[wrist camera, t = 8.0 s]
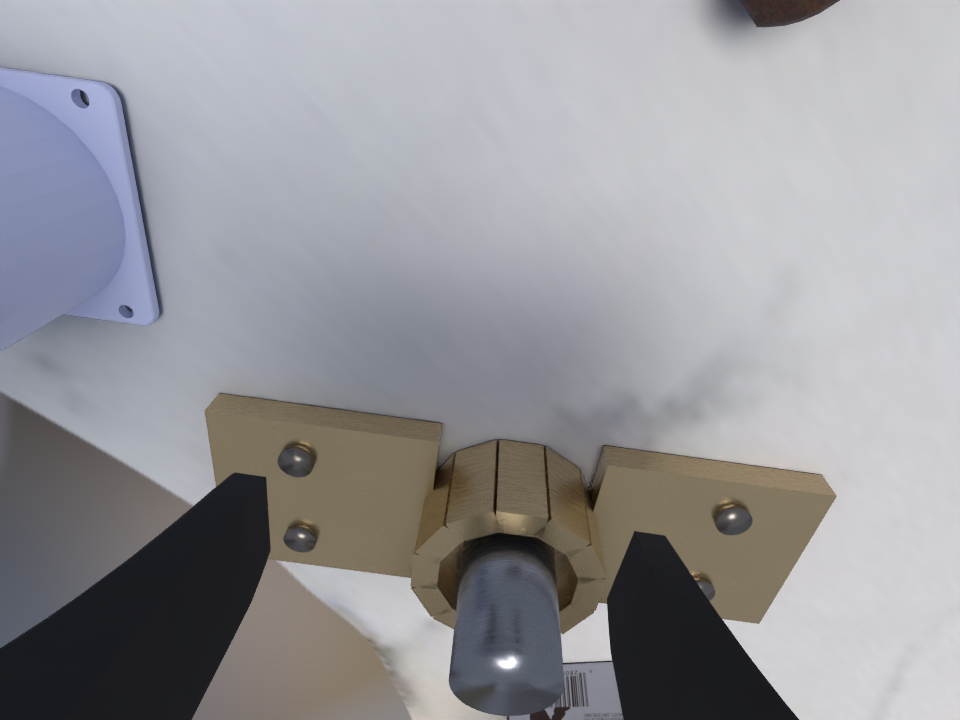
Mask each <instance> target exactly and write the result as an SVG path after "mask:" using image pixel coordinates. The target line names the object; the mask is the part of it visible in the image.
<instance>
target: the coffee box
mask: <svg viewBox="0 0 960 720" xmlns="http://www.w3.org/2000/svg"><path fill="white" fill-rule="evenodd" d="M563 673H564V690H563V693H562V695H561V697H560V698H559V699H558V700H557V701H556V702H555V703H554V704H553V705H551V706H550V707H548V708H546V709H544V710H542V711H539V712H536V713H532V714H527V715H520V716H507V720H623V715H622V709H621V704H620V699H619V694H618V688H617V683H616V678H615V672H614V667H613V662H598V663H579V664H563Z"/></svg>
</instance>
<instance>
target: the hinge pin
mask: <svg viewBox="0 0 960 720" xmlns="http://www.w3.org/2000/svg"><path fill="white" fill-rule="evenodd" d="M449 684H450V687H451V690H452V691H453V693H454V694H455V696H456V697H457V698H458V699H459V700H461V701H462V702H463V703H465V704H466V705H468V706H470V707H472V708H474V709H476V710H479V711H482V712H485V713H489V714H494V715H502V716H520V715H527V714H532V713H536V712H539V711H542V710H544V709H546V708H548V707H550V706H551V705H553V704H554V703H555V702H556V701H557V700H558V699H559V698H560V697H561V695H562V693H563V690H564V673H563V659H562V646H561V632H560V619H559V606H558V592H557V579H556V565H555V552H554V547H552V546H550V545H549V544H547V543H545V542H544V541H542V540H540V539H539V538H536V537H529V536H521V535H514V534H506V533H499V532H498V533H494V534H490V535H486V536H482V537H478V538H474V539H471V540H467V541H464V542H463V551H462V561H461V570H460V580H459V589H458V598H457V608H456V617H455V627H454V636H453V646H452V655H451V664H450V674H449Z"/></svg>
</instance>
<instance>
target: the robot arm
mask: <svg viewBox="0 0 960 720" xmlns="http://www.w3.org/2000/svg"><path fill="white" fill-rule="evenodd" d="M81 90H82V91H84V92H85V93H86V94H87V96H88V98H89V106H87V105H86V104H85V103H84V102H83V101H82V99H81V97H80V91H81ZM125 305H126V306H129V307H130V308H131V309H132V311H133V313H131V312H129V311H128V310H127V309H126V307H125ZM62 314H64V315H72V316H79V317H86V318H93V319H101V320H108V321H115V322H123V323H130V324H137V325H149V324H151V323H153V322H154V321H156V320H157V318H158V317H159V307H158V302H157V296H156V291H155V285H154V280H153V274H152V269H151V263H150V258H149V252H148V247H147V241H146V236H145V230H144V225H143V219H142V214H141V208H140V203H139V197H138V192H137V186H136V181H135V175H134V170H133V164H132V159H131V153H130V148H129V142H128V137H127V131H126V126H125V120H124V115H123V109H122V104H121V100H120V98H119V95H118V94H117V92H116V91H115V90H114V89H113V88H112V87H111V86H110V85H108V84H106V83H103V82H99V81H92V80H85V79H78V78H71V77H64V76H57V75H51V74H44V73H37V72H30V71H23V70H16V69H9V68H2V67H0V352H1V351H2V350H4V349H6V348H7V347H9V346H11V345H12V344H14V343H16V342H17V341H19V340H21V339H22V338H24V337H26V336H27V335H29V334H31V333H32V332H34V331H36V330H37V329H39V328H41V327H42V326H44V325H46V324H47V323H49V322H51V321H52V320H54V319H56V318H57V317H59V316H61V315H62ZM270 551H271V547H270V530H269V514H268V498H267V481H266V477H263V476H256V475H249V474H243V473H236V472H234V473H233V474H231V475H230V476H228V477H227V478H226V479H225V480H224V481H223V482H221V483H220V484H219V485H218V486H217V487H216V488H214V489H213V490H212V491H211V492H210V493H208V494H207V495H206V496H205V497H204V498H203V499H201V500H200V501H199V502H198V503H197V504H196V505H194V506H193V507H192V508H191V509H190V510H188V511H187V512H186V513H185V514H184V515H182V516H181V517H180V518H179V519H178V520H177V521H175V522H174V523H173V524H172V525H171V526H169V527H168V528H167V529H166V530H164V531H163V532H162V533H161V534H159V535H158V536H157V537H156V538H154V539H153V540H152V541H151V542H149V543H148V544H147V545H146V546H144V547H143V548H142V549H141V550H139V551H138V552H137V553H136V554H134V555H133V556H132V557H130V558H129V559H128V560H127V561H125V562H124V563H123V564H121V565H120V566H119V567H117V568H116V569H115V570H113V571H112V572H110V573H109V574H108V575H106V576H105V577H104V578H102V579H101V580H100V581H98V582H97V583H96V584H94V585H93V586H92V587H90V588H89V589H88V590H86V591H85V592H84V593H82V594H81V595H80V596H78V597H76V598H75V599H74V600H72V601H71V602H69V603H68V604H66V605H65V606H64V607H62V608H61V609H59V610H58V611H56V612H55V613H53V614H52V615H51V616H49V617H48V618H46V619H45V620H43V621H42V622H40V623H39V624H37V625H36V626H34V627H33V628H31V629H29V630H28V631H26V632H25V633H23V634H22V635H20V636H19V637H17V638H16V639H14V640H13V641H11V642H9V643H8V644H6V645H5V646H3V647H1V648H0V720H192V718H193V716H194V714H195V712H196V710H197V707H198V706H199V704H200V702H201V700H202V698H203V696H204V694H205V692H206V690H207V688H208V686H209V684H210V682H211V680H212V679H213V677H214V675H215V673H216V671H217V669H218V667H219V665H220V663H221V661H222V659H223V657H224V655H225V653H226V651H227V649H228V647H229V645H230V643H231V641H232V639H233V637H234V636H235V633H236V631H237V630H238V627H239V626H240V624H241V622H242V620H243V617H244V615H245V614H246V612H247V610H248V607H249V606H250V604H251V601H252V599H253V596H254V594H255V591H256V588H257V586H258V583H259V581H260V578H261V576H262V573H263V570H264V567H265V565H266V562H267V559H268V556H269V554H270ZM607 607H608V623H609V636H610V647H611V655H612V661H613V667H614V672H615V678H616V683H617V688H618V694H619V699H620V704H621V709H622V715H623V720H799V719H798V718H797V717H796V715H795V714H794V713H793V712H792V711H791V709H790V708H789V707H788V706H787V705H786V703H785V702H784V701H783V700H782V698H781V697H780V696H779V695H778V693H777V692H776V691H775V689H774V688H773V687H772V686H771V684H770V683H769V682H768V681H767V679H766V678H765V677H764V676H763V674H762V673H761V672H760V670H759V669H758V668H757V666H756V665H755V664H754V662H753V661H752V660H751V658H750V657H749V656H748V654H747V653H746V652H745V650H744V649H743V648H742V646H741V645H740V644H739V642H738V641H737V639H736V638H735V637H734V635H733V634H732V632H731V631H730V630H729V628H728V627H727V625H726V624H725V623H724V621H723V620H722V618H721V617H720V616H719V614H718V613H717V611H716V610H715V608H714V607H713V606H712V604H711V603H710V601H709V600H708V598H707V597H706V595H705V594H704V592H703V591H702V589H701V588H700V587H699V585H698V584H697V582H696V581H695V579H694V578H693V576H692V575H691V573H690V572H689V570H688V569H687V567H686V566H685V564H684V563H683V561H682V560H681V558H680V557H679V555H678V554H677V552H676V551H675V549H674V548H673V546H672V545H671V543H670V542H669V540H668V539H667V538H666V536H665V535H658V534H651V533H645V532H638V531H634V533H633V536H632V538H631V541H630V543H629V546H628V548H627V551H626V553H625V555H624V558H623V560H622V563H621V565H620V568H619V570H618V573H617V575H616V577H615V580H614V582H613V585H612V587H611V590H610V592H609V595H608V597H607Z"/></svg>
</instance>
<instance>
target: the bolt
mask: <svg viewBox="0 0 960 720" xmlns="http://www.w3.org/2000/svg"><path fill="white" fill-rule="evenodd" d="M838 1H839V0H741V2H742V4H743V5H744V7H745V8H746V10H747V12H748V13H749V15H750V17H751V18H752V20H753V21H754V23H755V25H756V26H757V27H774V26H785V25H789V24H793V23H796V22H800V21H803V20H805V19H807V18H810V17H812V16H814V15H817V14H819V13H821V12H822V11H824V10H825V9H827V8H828V7H830V6H832V5H833V4H835V3H836V2H838Z"/></svg>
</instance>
